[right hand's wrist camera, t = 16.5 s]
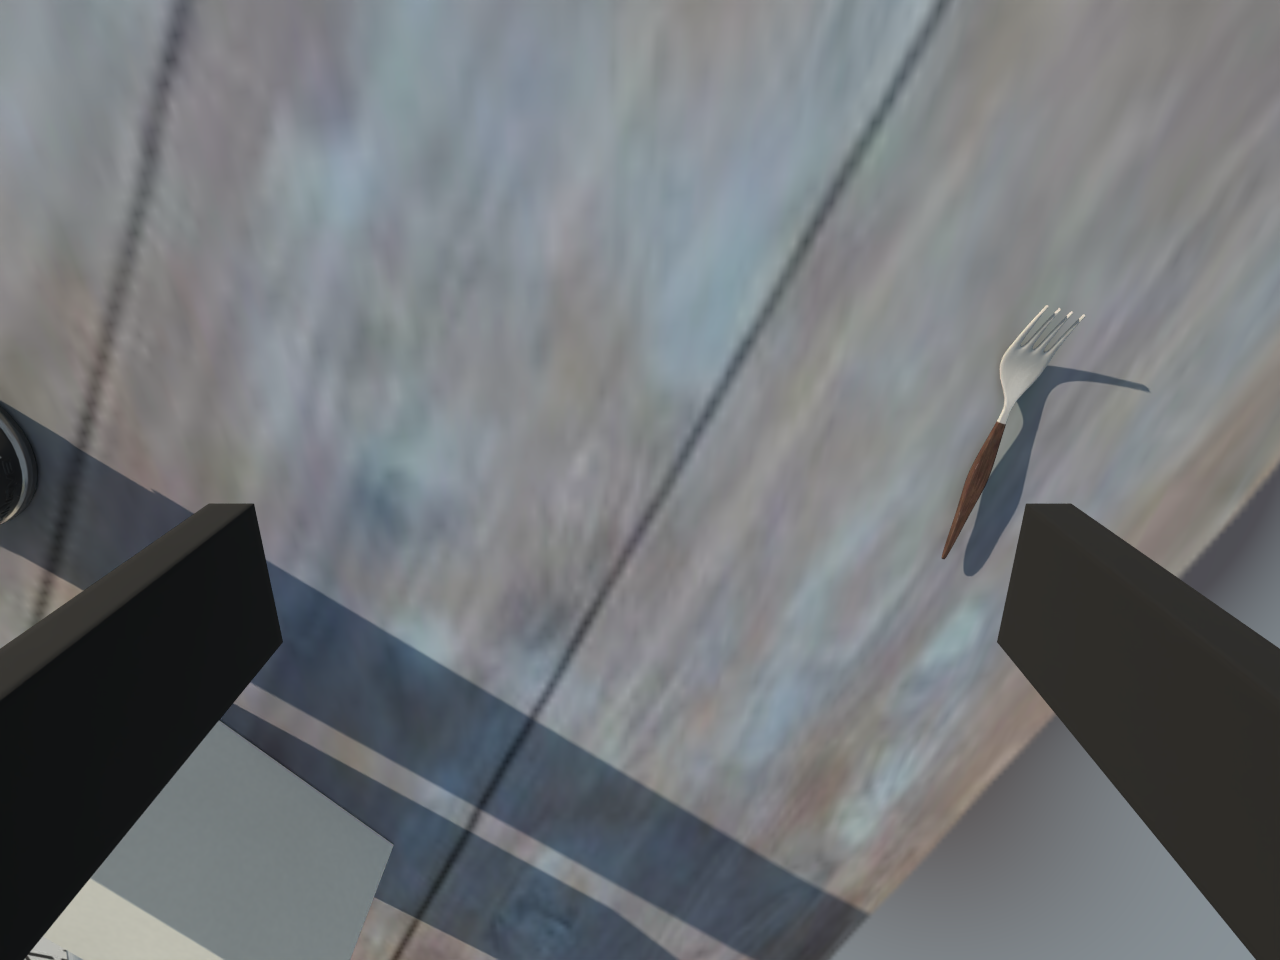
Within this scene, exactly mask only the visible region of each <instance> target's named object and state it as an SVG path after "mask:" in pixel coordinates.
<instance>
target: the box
mask: <svg viewBox="0 0 1280 960" xmlns="http://www.w3.org/2000/svg"><path fill="white" fill-rule="evenodd" d="M393 846H394V845H393V844H392V843H390V842H389V841H388V840H386V839H385V838H383V837H382V836H381V835H379V834H378V833H376V832H375V831H374V830H372V829H371V828H369V827H368V826H367V825H365V824H364V823H362V822H361V821H360V820H358V819H357V818H355V817H354V816H353V815H351V814H350V813H348V812H347V811H346V810H344V809H343V808H341V807H340V806H339V805H337V804H336V803H334V802H333V801H332V800H330V799H329V798H327V797H326V796H325V795H323V794H322V793H320V792H319V791H318V790H316V789H315V788H313V787H312V786H311V785H309V784H308V783H306V782H305V781H304V780H302V779H301V778H299V777H298V776H297V775H295V774H294V773H292V772H291V771H290V770H288V769H287V768H285V767H284V766H282V765H281V764H280V763H278V762H277V761H275V760H274V759H273V758H271V757H270V756H268V755H267V754H266V753H264V752H263V751H261V750H260V749H259V748H257V747H256V746H254V745H253V744H252V743H250V742H249V741H247V740H246V739H245V738H243V737H242V736H240V735H239V734H238V733H236V732H235V731H233V730H232V729H231V728H229V727H228V726H226V725H225V724H224V723H222V722H221V721H218V722H217V723H216V725H215V726H214V727H213V728H212V730H211V731H210V732H209V733H208V734H207V736H206V737H205V738H204V739H203V741H202V742H201V743H200V744H199V745H198V747H197V748H196V749H195V750H194V752H193V753H192V754H191V755H190V757H189V758H188V759H187V760H186V761H185V763H184V764H183V765H182V766H181V768H180V769H179V770H178V771H177V772H176V774H175V775H174V776H173V777H172V779H171V780H170V781H169V782H168V784H167V785H166V786H165V787H164V788H163V790H162V791H161V792H160V793H159V795H158V796H157V797H156V798H155V799H154V801H153V802H152V803H151V804H150V806H149V807H148V808H147V809H146V811H145V812H144V813H143V814H142V815H141V817H140V818H139V819H138V820H137V822H136V823H135V824H134V825H133V826H132V828H131V829H130V830H129V831H128V833H127V834H126V835H125V836H124V837H123V839H122V840H121V841H120V842H119V844H118V845H117V846H116V847H115V849H114V850H113V851H112V852H111V853H110V855H109V856H108V857H107V858H106V860H105V861H104V862H103V863H102V864H101V866H100V867H99V868H98V869H97V871H96V872H95V873H94V874H93V876H92V877H91V878H90V879H89V880H88V882H87V883H86V884H85V885H84V887H83V888H82V889H81V890H80V891H79V893H78V894H77V895H76V896H75V898H74V899H73V900H72V901H71V903H70V904H69V905H68V906H67V907H66V909H65V910H64V911H63V912H62V914H61V915H60V916H59V917H58V918H57V920H56V921H55V922H54V923H53V925H52V926H51V927H50V928H49V930H48V931H47V932H46V933H45V934H44V936H43V937H45V938H47V939H48V940H50V941H52V942H53V943H55V944H57V945H59V946H60V947H62V948H64V949H66V950H67V951H69V952H71V953H73V954H74V955H76V956H78V957H80V958H81V959H83V960H350V958H351V956H352V953H353V951H354V948H355V945H356V943H357V940H358V938H359V935H360V932H361V930H362V927H363V924H364V922H365V919H366V917H367V914H368V911H369V909H370V906H371V904H372V901H373V898H374V896H375V893H376V891H377V888H378V885H379V883H380V880H381V878H382V875H383V872H384V870H385V867H386V864H387V862H388V859H389V857H390V854H391V851H392V849H393Z"/></svg>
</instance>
